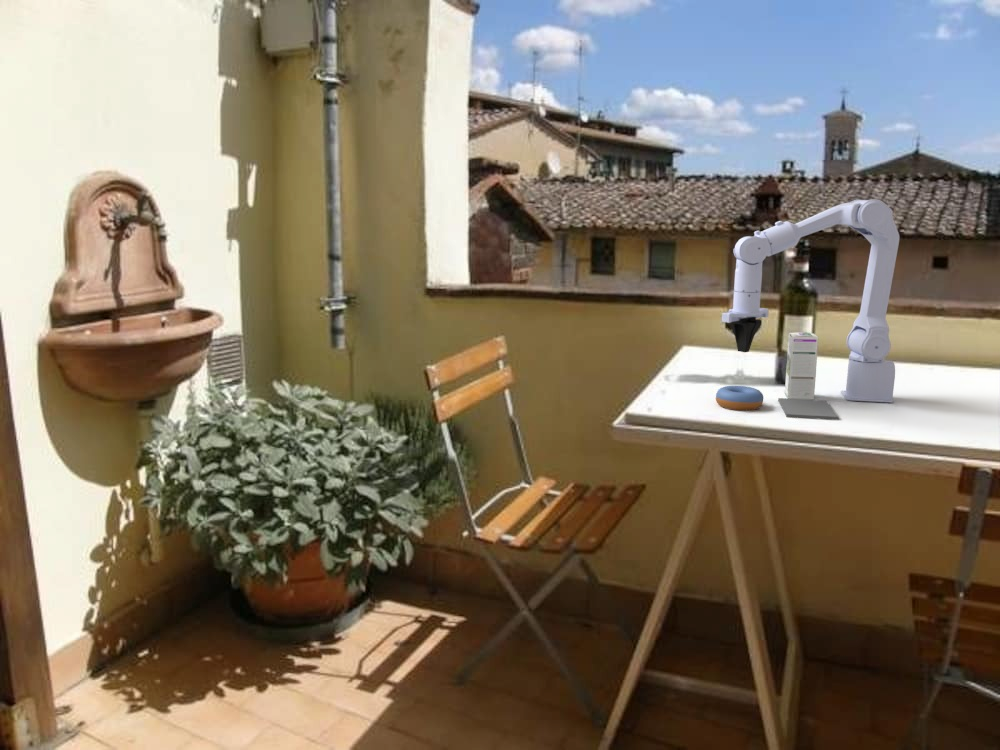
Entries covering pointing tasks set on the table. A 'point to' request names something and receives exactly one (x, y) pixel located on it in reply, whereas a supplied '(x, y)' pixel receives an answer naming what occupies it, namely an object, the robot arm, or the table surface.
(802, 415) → the mat
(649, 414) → the table surface
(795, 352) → the syrup box
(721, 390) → the doughnut
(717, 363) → the table surface
